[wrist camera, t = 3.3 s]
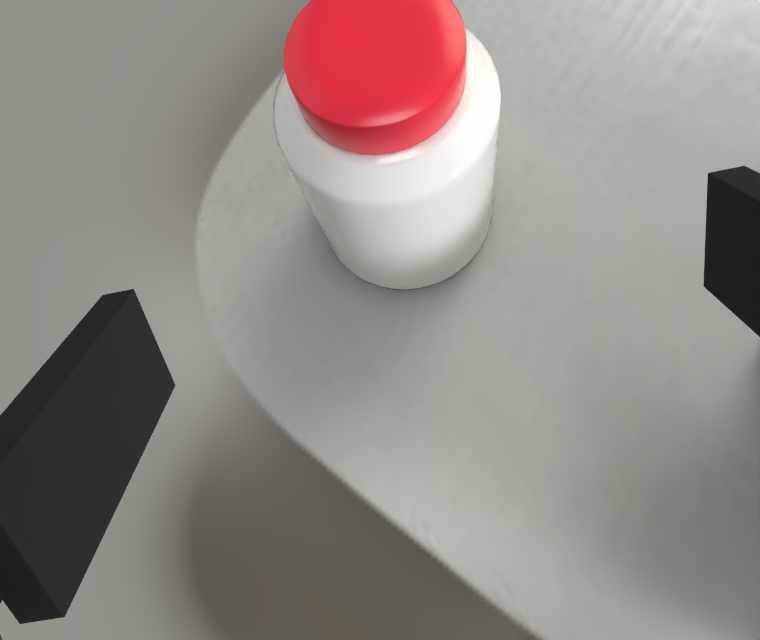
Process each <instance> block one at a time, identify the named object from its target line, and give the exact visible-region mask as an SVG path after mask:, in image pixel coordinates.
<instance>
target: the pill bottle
mask: <svg viewBox="0 0 760 640" xmlns="http://www.w3.org/2000/svg"><path fill="white" fill-rule="evenodd" d="M273 105H274V129H275V133H276V137H277V141H278V145H279V147H280V149H281V151H282V153H283V155H284V157H285V159H286V161H287V163H288V165H289V167H290V169H291V171H292V173H293V175H294V177H295V179H296V181H297V183H298V184H299V186H300V188H301V190H302V192H303V194H304V196H305V198H306V200H307V202H308V203H309V205H310V207H311V209H312V211H313V213H314V215H315V217H316V219H317V221H318V222H319V224H320V226H321V228H322V230H323V232H324V234H325V236H326V238H327V240H328V241H329V243H330V245H331V247H332V249H333V251H334V253H335V254H336V256H337V257H338V258H339V259H340V261H341V262H342V263H343V264H344V266H345V267H347V268H348V269H349V270H350V271H352V272H353V273H354V274H355V275H357V276H358V277H360V278H362V279H364V280H366V281H368V282H370V283H372V284H375V285H379V286H382V287H386V288H393V289H414V288H422V287H426V286H429V285H433V284H436V283H439V282H441V281H443V280H445V279H447V278H449V277H451V276H453V275H454V274H455V273H457V272H458V271H459V270H461V269H462V268H463V267H464V266H466V265H467V264H468V263H469V261H470V260H471V259H472V258H473V257H474V256H475V255H476V254H477V252H478V251H479V249H480V247H481V245H482V244H483V242H484V240H485V238H486V235H487V232H488V229H489V226H490V223H491V213H492V202H493V191H494V179H495V167H496V155H497V143H498V132H499V120H500V108H501V91H500V84H499V77H498V74H497V72H496V69H495V66H494V64H493V61H492V58H491V56H490V55H489V53H488V52H487V50H486V49H485V47H484V46H483V44H482V43H481V41H480V40H479V39H478V38H477V37H476V36H475V35H474V34H473V33H472V32H470V31H469V30H468V29H467V28H466V27H465V26H464V24H463V21H462V18H461V16H460V13H459V11H458V10H457V8H456V7H455V5H454V4H453V2H452V1H451V0H311V1H310V2H309V3H308V5H307V6H306V7H305V8H304V9H303V10H302V11H301V12H300V14H299V15H298V17H297V18H296V20H295V21H294V23H293V25H292V27H291V30H290V32H289V34H288V36H287V40H286V45H285V50H284V72H283V74H282V76H281V78H280V81H279V83H278V85H277V90H276V95H275V100H274V104H273Z"/></svg>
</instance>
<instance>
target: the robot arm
mask: <svg viewBox="0 0 760 640" xmlns="http://www.w3.org/2000/svg"><path fill="white" fill-rule="evenodd" d="M704 287H705V288H706V289H707V290H708V291H710V292H711V293H712V294H713V295H714V296H715V297H716V298H717V299H718V300H720V301H721V302H722V303H723V304H724V305H725V306H726V307H727V308H728V309H730V310H731V311H732V312H733V313H734V314H735V315H736V316H737V317H738V318H740V319H741V320H742V321H743V322H744V323H745V324H746V325H747V326H748V327H750V328H751V329H752V330H753V331H754V332H755V333H756V334H757V335H758V336H760V173H758V172H756V171H754V170H752V169H750V168H748V167H745V166H741V167H737V168H732V169H727V170H722V171H717V172H712V173H708V187H707V213H706V240H705V266H704ZM174 387H175V384H174V381H173V379H172V377H171V374H170V372H169V370H168V368H167V365H166V363H165V360H164V358H163V356H162V354H161V351H160V349H159V347H158V344H157V342H156V340H155V337H154V335H153V333H152V330H151V328H150V326H149V324H148V321H147V319H146V317H145V314H144V312H143V310H142V307H141V305H140V303H139V300H138V298H137V296H136V293H135V291H134V289H131V290H127V291H122V292H117V293H112V294H106V295H103V296H102V297H101V298H100V299H99V300H98V302H96V304H95V305H94V306H93V307H92V308H91V310H90V311H89V312H88V313H87V314H86V315H85V317H84V318H83V319H82V320H81V321H80V322H79V324H78V325H77V326H76V327H75V328H74V330H73V331H72V332H71V333H70V334H69V335H68V337H67V338H66V339H65V340H64V341H63V343H62V344H61V345H60V346H59V347H58V348H57V350H56V351H55V352H54V353H53V354H52V355H51V357H50V358H49V359H48V360H47V361H46V363H45V364H44V365H43V366H42V367H41V368H40V370H39V371H38V372H37V373H36V374H35V376H34V377H33V378H32V379H31V380H30V381H29V383H28V384H27V385H26V386H25V387H24V388H23V390H22V391H21V392H20V393H19V394H18V396H17V397H16V398H15V399H14V400H13V402H12V403H11V404H10V405H9V406H8V408H7V409H6V410H5V411H4V412H3V413H2V414H1V415H0V603H1V601H2V600H3V601H4V602H5V604H6V605H7V607H8V608H9V609H10V611H11V612H12V613H13V615H14V616H15V618H16V619H17V620H18V622H19V623H20V624H23V623H29V622H35V621H41V620H48V619H54V618H60V617H65V615H66V613H67V610H68V608H69V607H70V605H71V602H72V600H73V598H74V596H75V594H76V592H77V590H78V588H79V586H80V583H81V582H82V579H83V577H84V575H85V573H86V571H87V569H88V567H89V565H90V563H91V561H92V559H93V556H94V554H95V552H96V550H97V548H98V546H99V544H100V542H101V540H102V538H103V536H104V533H105V531H106V529H107V527H108V525H109V523H110V521H111V519H112V517H113V515H114V512H115V510H116V508H117V506H118V504H119V502H120V500H121V498H122V496H123V494H124V492H125V489H126V487H127V485H128V483H129V481H130V479H131V477H132V475H133V472H134V470H135V469H136V466H137V464H138V462H139V460H140V458H141V456H142V454H143V452H144V450H145V447H146V446H147V443H148V441H149V439H150V437H151V435H152V433H153V431H154V429H155V427H156V425H157V423H158V420H159V418H160V416H161V414H162V412H163V410H164V408H165V406H166V404H167V402H168V400H169V397H170V395H171V393H172V391H173V389H174ZM0 640H2V638H1V635H0Z"/></svg>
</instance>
